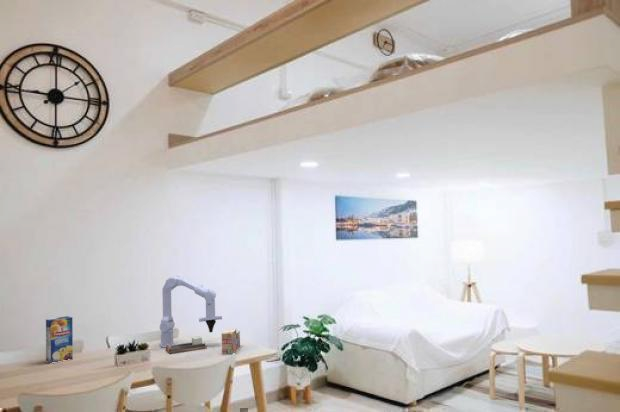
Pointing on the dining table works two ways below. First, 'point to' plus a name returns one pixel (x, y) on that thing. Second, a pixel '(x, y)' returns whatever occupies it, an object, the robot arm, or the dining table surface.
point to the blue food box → (59, 339)
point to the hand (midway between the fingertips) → (210, 332)
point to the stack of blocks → (230, 341)
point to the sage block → (196, 340)
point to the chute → (184, 348)
